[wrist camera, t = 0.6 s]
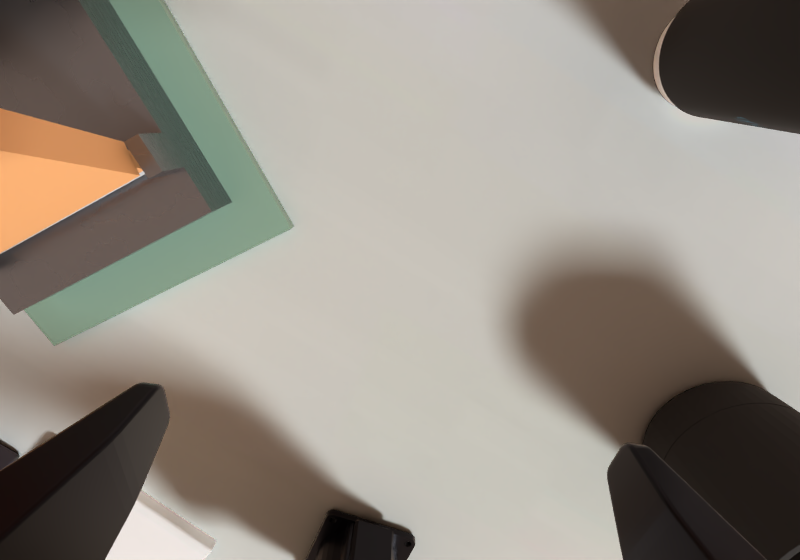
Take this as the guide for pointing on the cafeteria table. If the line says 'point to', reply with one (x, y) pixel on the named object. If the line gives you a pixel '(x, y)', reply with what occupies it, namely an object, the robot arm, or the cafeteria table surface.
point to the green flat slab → (199, 241)
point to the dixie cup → (733, 62)
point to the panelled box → (7, 456)
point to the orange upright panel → (53, 173)
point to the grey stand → (103, 115)
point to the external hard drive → (159, 535)
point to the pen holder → (737, 459)
